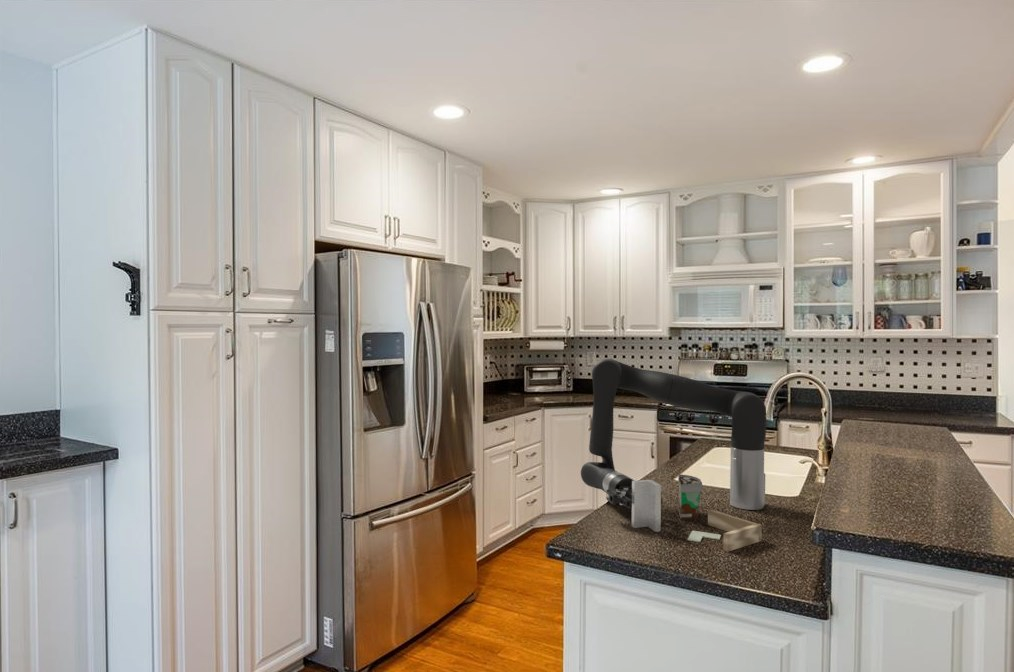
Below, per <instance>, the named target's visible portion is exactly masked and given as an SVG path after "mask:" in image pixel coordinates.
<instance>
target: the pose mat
mask: <svg viewBox="0 0 1014 672" xmlns="http://www.w3.org/2000/svg"><path fill="white" fill-rule="evenodd" d="M721 537H722V535H721V534H718V533H711V532H705V531H704V532H703V531H697V530H691V532H690V534H689V536H688V538H687V541H690V542H696V543H701V541H702V539H703V538H706V539H713V540H718V541H720V539H721Z"/></svg>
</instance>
